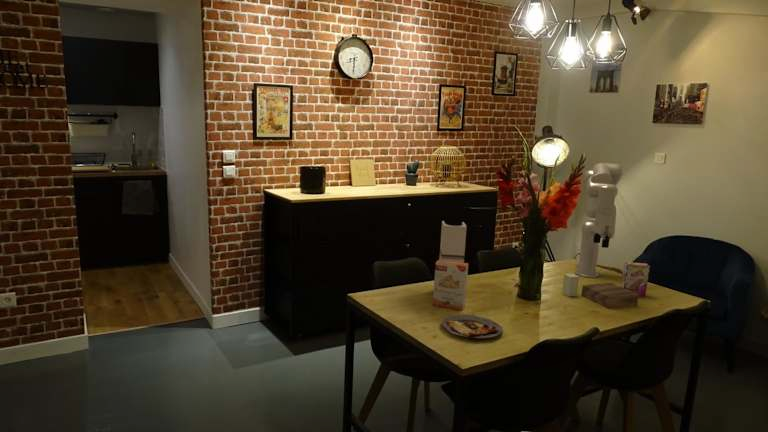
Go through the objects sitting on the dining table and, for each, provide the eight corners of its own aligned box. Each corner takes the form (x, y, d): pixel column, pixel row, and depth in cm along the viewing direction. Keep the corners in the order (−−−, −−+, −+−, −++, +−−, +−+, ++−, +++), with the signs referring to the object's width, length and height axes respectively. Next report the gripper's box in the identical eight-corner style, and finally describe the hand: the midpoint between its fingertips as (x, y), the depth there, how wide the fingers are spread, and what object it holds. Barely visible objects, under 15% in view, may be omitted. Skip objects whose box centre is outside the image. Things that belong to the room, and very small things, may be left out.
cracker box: (432, 306, 244) (435, 261, 240) (435, 302, 249) (438, 258, 245) (462, 311, 239) (466, 266, 235) (465, 307, 245) (468, 262, 241)
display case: (461, 298, 256) (466, 226, 249) (438, 297, 256) (443, 225, 250) (458, 290, 267) (463, 222, 261) (437, 289, 267) (442, 221, 261)
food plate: (513, 339, 210) (513, 330, 210) (460, 345, 203) (460, 337, 202) (481, 317, 234) (481, 310, 233) (432, 322, 226) (433, 314, 225)
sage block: (562, 293, 271) (564, 274, 270) (570, 292, 273) (572, 273, 271) (568, 296, 267) (570, 277, 265) (576, 295, 269) (579, 276, 267)
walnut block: (581, 296, 269) (582, 285, 268) (609, 294, 275) (611, 282, 274) (607, 309, 252) (608, 296, 251) (637, 306, 258) (638, 294, 257)
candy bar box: (623, 295, 273) (627, 264, 270) (620, 292, 278) (624, 261, 275) (646, 296, 272) (650, 265, 269) (642, 293, 277) (646, 263, 274)
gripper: (590, 207, 269) (586, 240, 272) (604, 213, 252) (600, 248, 255) (605, 208, 269) (600, 241, 272) (620, 214, 252) (616, 249, 255)
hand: (600, 245), depth 263 cm, fingers open, 9 cm apart
